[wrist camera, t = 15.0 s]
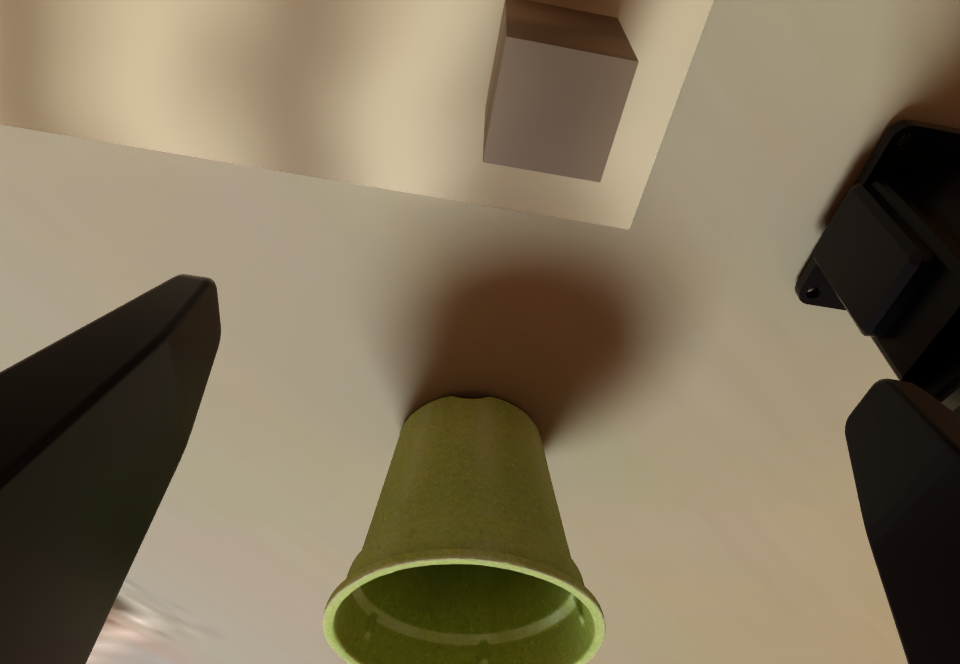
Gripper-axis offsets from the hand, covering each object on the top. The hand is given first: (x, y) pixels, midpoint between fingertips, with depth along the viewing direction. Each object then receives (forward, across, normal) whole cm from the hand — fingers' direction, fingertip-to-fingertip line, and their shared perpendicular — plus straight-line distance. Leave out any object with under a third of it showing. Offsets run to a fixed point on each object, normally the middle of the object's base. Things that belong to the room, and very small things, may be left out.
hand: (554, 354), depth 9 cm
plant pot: (+13, -1, +16) cm, 21 cm away
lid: (+13, +5, 0) cm, 14 cm away
